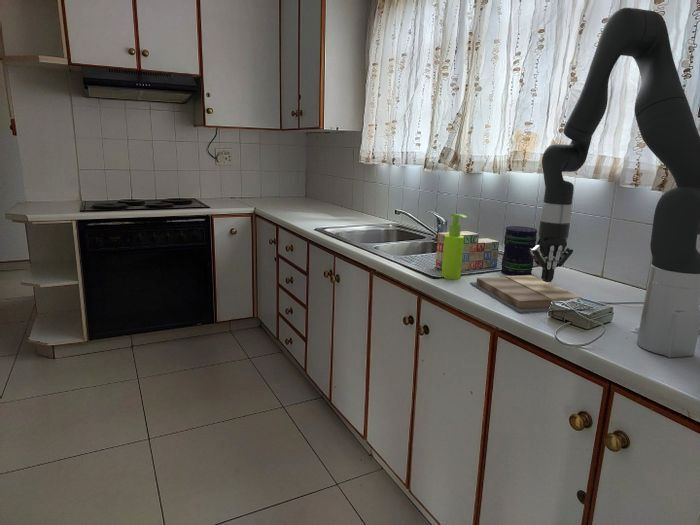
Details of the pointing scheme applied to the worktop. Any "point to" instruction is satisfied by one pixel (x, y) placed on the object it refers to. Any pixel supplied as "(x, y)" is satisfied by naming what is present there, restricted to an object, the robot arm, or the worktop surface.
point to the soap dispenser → (453, 250)
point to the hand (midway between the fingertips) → (546, 281)
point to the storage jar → (518, 251)
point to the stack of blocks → (471, 251)
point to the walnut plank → (513, 292)
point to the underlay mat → (523, 310)
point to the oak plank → (543, 288)
